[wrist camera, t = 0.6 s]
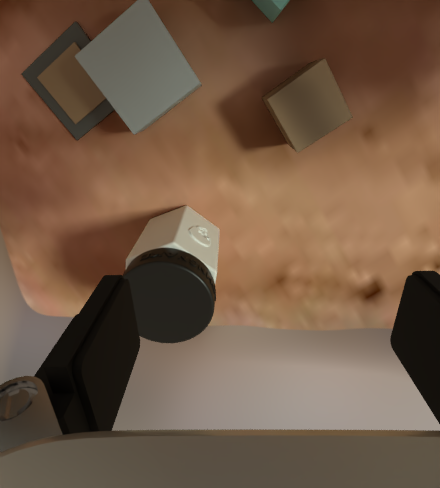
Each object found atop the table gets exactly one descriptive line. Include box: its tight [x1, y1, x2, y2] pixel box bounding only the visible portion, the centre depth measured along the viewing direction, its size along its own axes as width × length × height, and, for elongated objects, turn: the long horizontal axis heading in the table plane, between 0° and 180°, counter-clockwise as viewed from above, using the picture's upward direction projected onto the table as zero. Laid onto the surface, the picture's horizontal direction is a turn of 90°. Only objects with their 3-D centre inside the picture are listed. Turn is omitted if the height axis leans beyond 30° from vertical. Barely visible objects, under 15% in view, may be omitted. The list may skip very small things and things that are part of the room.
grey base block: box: [75, 0, 202, 134], centre depth 27 cm, size 7×7×4 cm
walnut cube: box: [262, 58, 353, 153], centre depth 28 cm, size 5×5×5 cm
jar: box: [123, 205, 220, 343], centre depth 31 cm, size 9×8×12 cm
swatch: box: [22, 21, 115, 140], centre depth 29 cm, size 7×7×1 cm
